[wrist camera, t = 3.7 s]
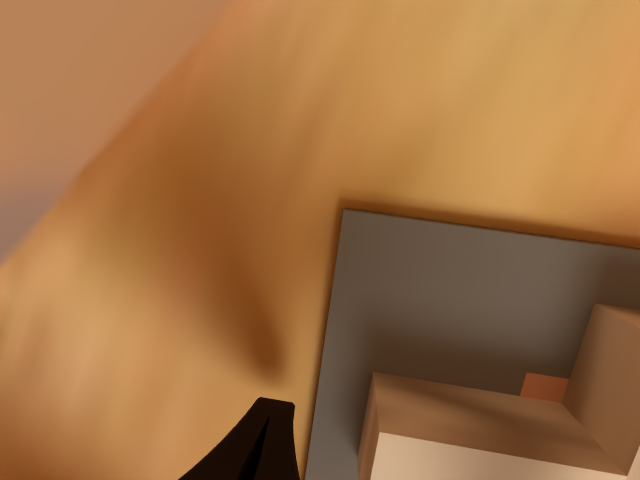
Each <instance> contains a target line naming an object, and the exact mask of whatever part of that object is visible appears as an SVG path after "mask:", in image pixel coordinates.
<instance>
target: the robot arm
mask: <svg viewBox="0 0 640 480" xmlns="http://www.w3.org/2000/svg"><path fill="white" fill-rule="evenodd" d="M294 410H295V405H294V404H293V403H292V402H286V401H280V400H275V399H269V398H263V397H260V398H258V399H257V400H256V401H255V403H254V404H253V405H252V407H251V408H250V409H249V411H248V412H247V413H246V414H245V415H244V417H243V418H242V419H241V420H240V421H239V422H238V423H237V425H236V426H235V427H234V428H233V429H232V430H231V431H230V432H229V433H228V434H227V435H226V437H225V438H224V439H223V440H222V441H221V442H220V443H219V444H218V445H217V446H216V447H214V448H213V449H212V450H211V451H210V452H209V453H208V454H207V455H206V456H205V457H204V458H203V459H202V460H201V461H200V462H199V463H197V464H196V465H195V466H194V467H193V468H192V469H190V470H189V471H188V472H187V473H186V474H184V475H183V476H182V477H181V478H179V479H178V480H300V477H299V472H298V466H297V461H296V454H295V445H294V435H293V419H294Z"/></svg>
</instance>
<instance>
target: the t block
mask: <svg viewBox="0 0 640 480" xmlns="http://www.w3.org/2000/svg"><path fill="white" fill-rule="evenodd" d="M357 466H358V480H640V310H637V309H631V308H624V307H617V306H610V305H604V304H597V303H594V306H593V309H592V313H591V316H590V319H589V322H588V325H587V328H586V331H585V334H584V337H583V340H582V343H581V346H580V349H579V352H578V355H577V358H576V361H575V364H574V367H573V370H572V373H571V376H570V379H569V382H568V385H567V388H566V391H565V394H564V397H563V400H562V403H558V402H552V401H546V400H540V399H534V398H528V397H522V396H516V395H510V394H504V393H498V392H492V391H486V390H480V389H474V388H468V387H462V386H456V385H450V384H444V383H438V382H432V381H426V380H421V379H415V378H409V377H403V376H397V375H391V374H385V373H379V372H373V374H372V380H371V385H370V391H369V396H368V402H367V407H366V413H365V418H364V423H363V429H362V434H361V440H360V445H359V451H358V456H357Z"/></svg>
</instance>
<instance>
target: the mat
mask: <svg viewBox="0 0 640 480" xmlns="http://www.w3.org/2000/svg"><path fill="white" fill-rule="evenodd" d="M594 303H597V304H604V305H610V306H617V307H624V308H631V309H637V310H640V249H638V248H631V247H624V246H616V245H609V244H602V243H595V242H587V241H580V240H573V239H566V238H558V237H551V236H544V235H536V234H529V233H522V232H515V231H507V230H500V229H493V228H486V227H478V226H471V225H464V224H456V223H449V222H442V221H435V220H427V219H420V218H413V217H405V216H398V215H391V214H384V213H376V212H369V211H362V210H355V209H347V208H344V209H343V216H342V223H341V230H340V237H339V244H338V251H337V258H336V265H335V272H334V279H333V286H332V293H331V300H330V307H329V314H328V321H327V328H326V335H325V342H324V349H323V356H322V363H321V370H320V377H319V384H318V391H317V398H316V405H315V412H314V419H313V426H312V433H311V440H310V447H309V454H308V461H307V468H306V475H305V480H358V466H357V456H358V451H359V445H360V440H361V434H362V429H363V423H364V418H365V413H366V407H367V402H368V396H369V391H370V385H371V380H372V374H373V372H379V373H385V374H391V375H397V376H403V377H409V378H415V379H421V380H426V381H432V382H438V383H444V384H450V385H456V386H462V387H468V388H474V389H480V390H486V391H492V392H498V393H504V394H510V395H516V396H522V397H528V398H534V399H540V400H546V401H552V402H558V403H562V400H563V397H564V394H565V391H566V388H567V385H568V382H569V379H570V376H571V373H572V370H573V367H574V364H575V361H576V358H577V355H578V352H579V349H580V346H581V343H582V340H583V337H584V334H585V331H586V328H587V325H588V322H589V319H590V316H591V313H592V309H593V306H594Z"/></svg>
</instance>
